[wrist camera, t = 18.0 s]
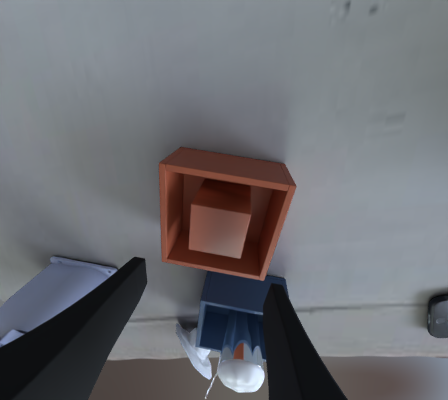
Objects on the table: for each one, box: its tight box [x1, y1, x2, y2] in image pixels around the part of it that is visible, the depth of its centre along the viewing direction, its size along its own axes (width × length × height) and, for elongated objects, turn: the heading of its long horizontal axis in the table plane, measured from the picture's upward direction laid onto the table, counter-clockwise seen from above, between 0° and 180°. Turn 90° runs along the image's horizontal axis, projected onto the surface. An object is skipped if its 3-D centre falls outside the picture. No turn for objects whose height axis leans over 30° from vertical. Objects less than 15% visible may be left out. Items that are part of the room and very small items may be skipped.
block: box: [188, 179, 251, 259], centre depth 17 cm, size 4×4×5 cm
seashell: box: [176, 323, 212, 379], centre depth 29 cm, size 8×5×8 cm
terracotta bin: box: [159, 147, 296, 281], centre depth 18 cm, size 10×10×5 cm
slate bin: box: [195, 270, 289, 361], centre depth 24 cm, size 10×10×5 cm
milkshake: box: [205, 309, 264, 398], centre depth 21 cm, size 4×5×10 cm
